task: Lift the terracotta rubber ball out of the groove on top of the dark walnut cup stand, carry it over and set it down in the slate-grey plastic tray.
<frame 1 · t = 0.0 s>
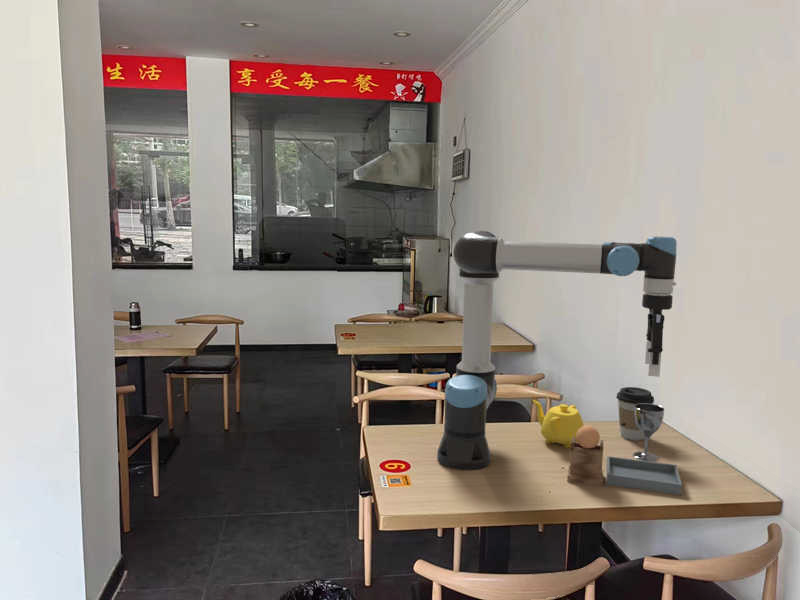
hand: (651, 369, 172), 28 cm above the table, fingers open, 13 cm apart
tray: (641, 479, 167), on the table
silver goblet: (645, 457, 183), on the table
ball: (587, 447, 166), point 9 cm above the table, touching stand
coffee cup: (632, 437, 199), on the table
teapot: (555, 440, 195), on the table
stand: (585, 478, 167), on the table
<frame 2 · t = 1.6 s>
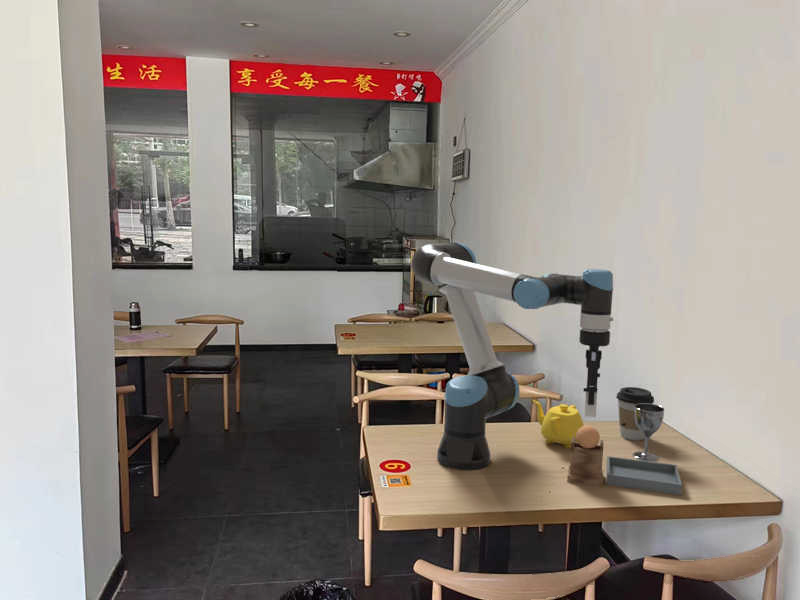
hand: (590, 408, 164), 20 cm above the table, fingers open, 13 cm apart
nothing on the table moved.
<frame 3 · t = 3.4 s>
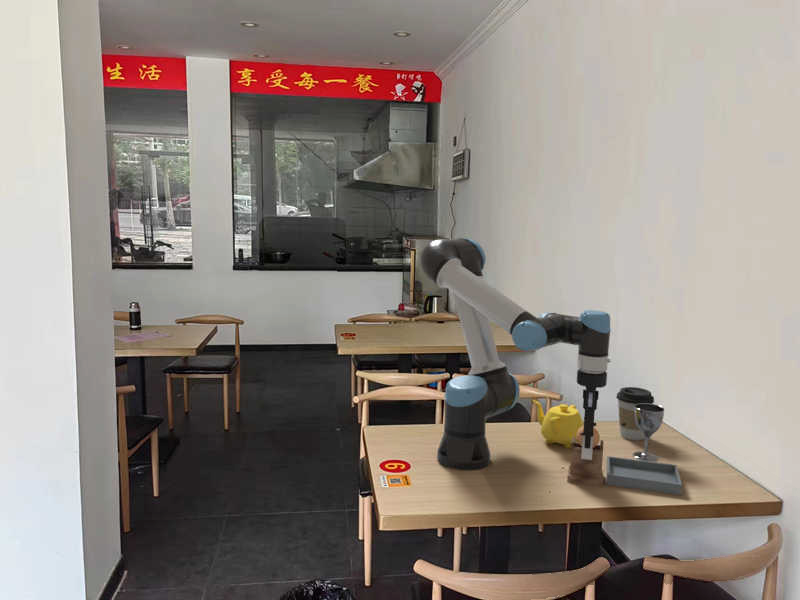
hand: (586, 453, 166), 7 cm above the table, fingers closed on ball, 6 cm apart
ball: (587, 447, 166), point 9 cm above the table, touching gripper, stand
everything else where it was.
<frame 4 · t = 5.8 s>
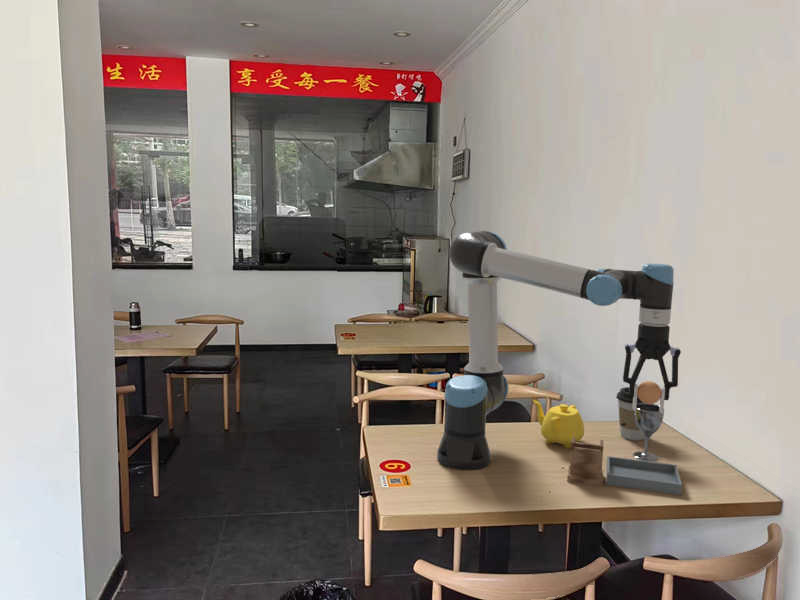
hand: (647, 409, 164), 19 cm above the table, fingers closed on ball, 6 cm apart
ball: (648, 403, 164), point 21 cm above the table, touching gripper
everything else where it was.
when the fingers open (2 cm above the table, at t = 8.6 s): ball drops 3 cm, resting on tray.
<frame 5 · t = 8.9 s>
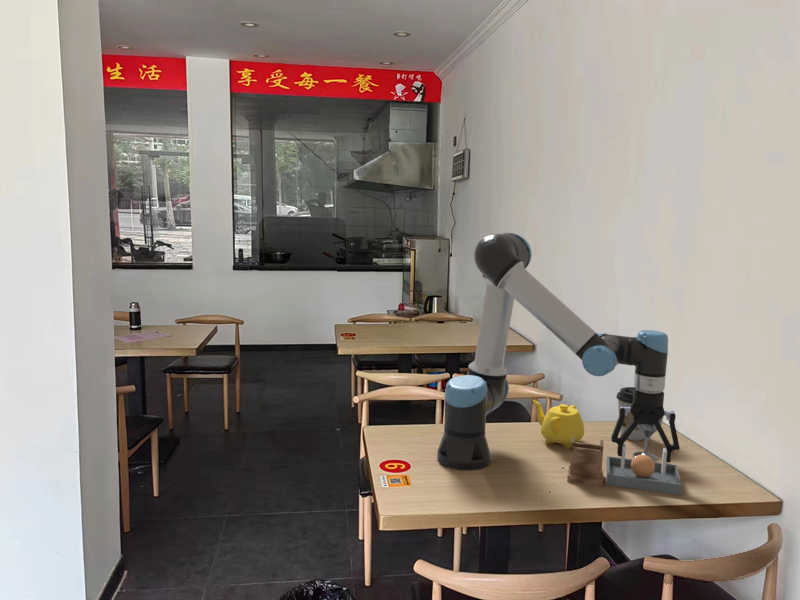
hand: (642, 470, 167), 3 cm above the table, fingers open, 9 cm apart
ball: (642, 476, 167), point 1 cm above the table, touching tray
everything else where it was.
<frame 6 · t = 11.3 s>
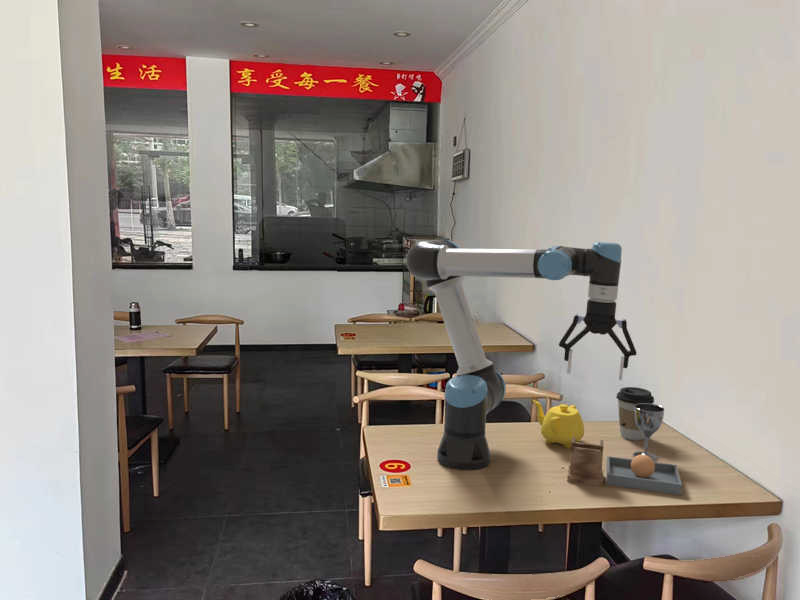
hand: (594, 375, 171), 26 cm above the table, fingers open, 13 cm apart
nothing on the table moved.
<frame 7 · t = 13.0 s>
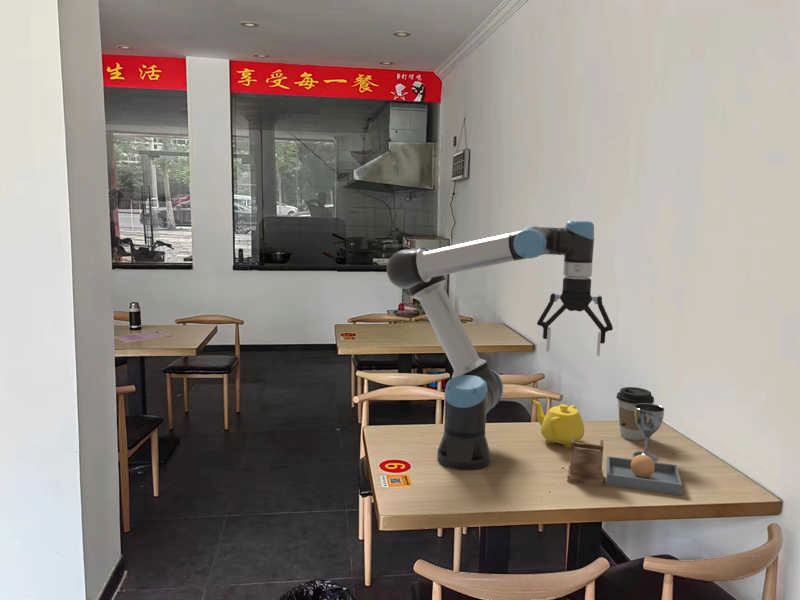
hand: (572, 352, 174), 32 cm above the table, fingers open, 13 cm apart
nothing on the table moved.
at the end: ball inside the target area on the tray (0.1 cm from its centre), point 0.8 cm above the tray's base; the gripper is holding nothing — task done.
